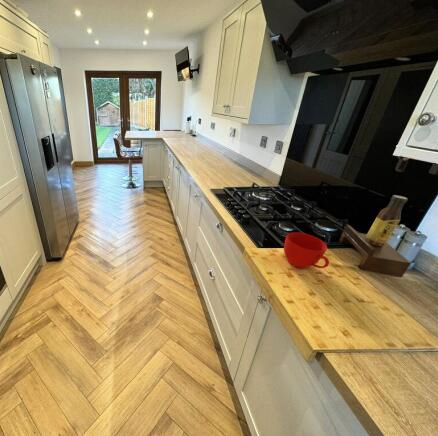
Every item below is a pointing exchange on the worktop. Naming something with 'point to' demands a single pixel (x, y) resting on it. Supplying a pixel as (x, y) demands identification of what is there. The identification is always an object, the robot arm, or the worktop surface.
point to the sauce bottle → (386, 222)
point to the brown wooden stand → (375, 255)
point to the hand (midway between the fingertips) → (415, 172)
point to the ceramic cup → (304, 250)
